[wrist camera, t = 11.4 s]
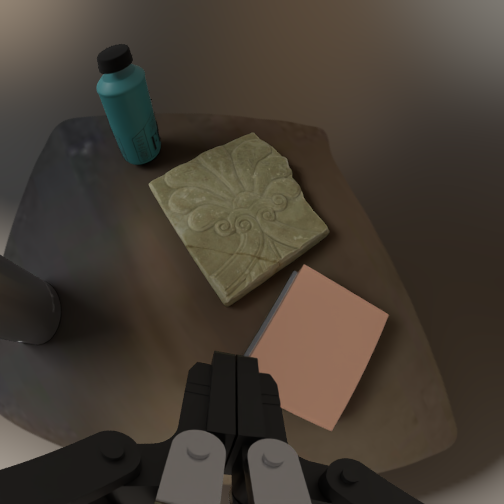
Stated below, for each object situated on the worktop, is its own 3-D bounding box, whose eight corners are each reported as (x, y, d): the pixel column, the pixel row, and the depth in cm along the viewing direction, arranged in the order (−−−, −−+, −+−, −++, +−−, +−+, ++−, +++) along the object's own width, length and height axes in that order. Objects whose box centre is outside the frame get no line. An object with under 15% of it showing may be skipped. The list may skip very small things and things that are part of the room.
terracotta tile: (331, 431, 26) (388, 314, 32) (234, 382, 28) (304, 264, 33) (320, 424, 30) (373, 319, 35) (233, 379, 32) (296, 274, 37)
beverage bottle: (163, 168, 42) (137, 57, 23) (122, 175, 41) (79, 72, 22) (164, 137, 44) (144, 32, 25) (125, 144, 43) (92, 45, 25)
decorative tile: (224, 309, 36) (224, 304, 32) (150, 192, 41) (145, 179, 37) (336, 234, 41) (345, 223, 37) (254, 140, 46) (257, 125, 42)
